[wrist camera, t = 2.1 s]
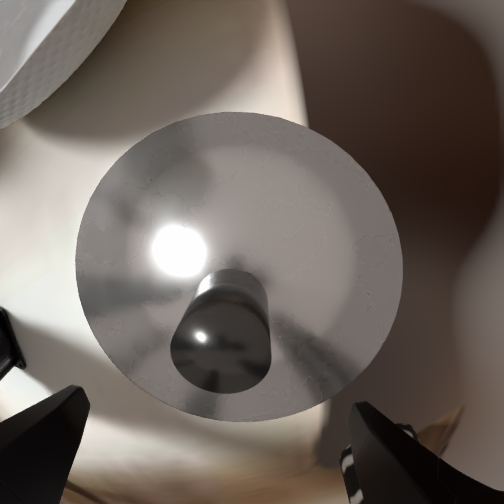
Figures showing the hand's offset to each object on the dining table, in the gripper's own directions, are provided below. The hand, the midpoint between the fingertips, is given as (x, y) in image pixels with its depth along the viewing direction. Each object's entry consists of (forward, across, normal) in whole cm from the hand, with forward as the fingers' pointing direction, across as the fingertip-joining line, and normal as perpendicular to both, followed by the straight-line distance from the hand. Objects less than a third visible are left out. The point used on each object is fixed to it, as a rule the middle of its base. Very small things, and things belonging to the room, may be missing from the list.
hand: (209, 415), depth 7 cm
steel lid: (+9, 0, 0) cm, 9 cm away
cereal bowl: (+9, +13, -19) cm, 25 cm away
